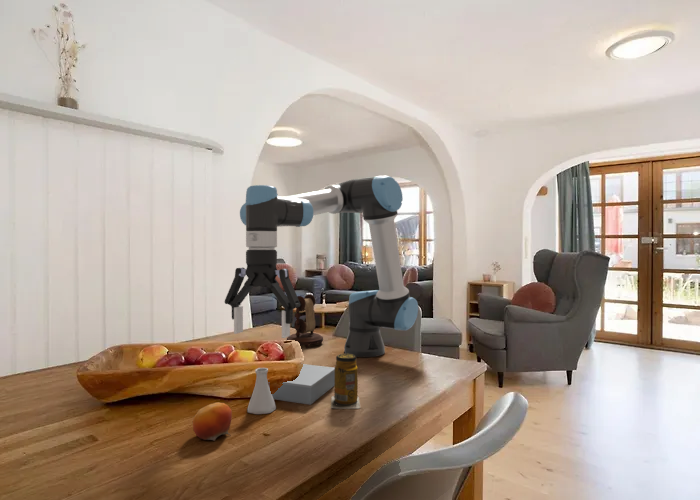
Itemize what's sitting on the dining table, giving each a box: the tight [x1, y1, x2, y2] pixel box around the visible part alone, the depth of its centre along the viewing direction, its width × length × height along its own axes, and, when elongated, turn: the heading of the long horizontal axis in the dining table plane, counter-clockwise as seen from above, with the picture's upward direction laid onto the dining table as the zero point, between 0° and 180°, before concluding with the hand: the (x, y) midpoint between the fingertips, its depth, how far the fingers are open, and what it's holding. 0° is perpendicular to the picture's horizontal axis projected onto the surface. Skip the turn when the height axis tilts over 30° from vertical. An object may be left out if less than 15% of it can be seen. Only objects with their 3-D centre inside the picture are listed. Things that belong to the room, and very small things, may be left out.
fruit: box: [192, 401, 233, 442], centre depth 92 cm, size 8×8×8 cm
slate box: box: [272, 363, 335, 406], centre depth 119 cm, size 17×13×5 cm
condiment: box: [330, 353, 361, 410], centre depth 111 cm, size 7×8×12 cm
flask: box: [247, 367, 277, 415], centre depth 107 cm, size 7×7×10 cm
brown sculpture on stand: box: [286, 293, 324, 349], centre depth 175 cm, size 15×15×20 cm
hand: (261, 334), depth 106 cm, fingers open, 13 cm apart
